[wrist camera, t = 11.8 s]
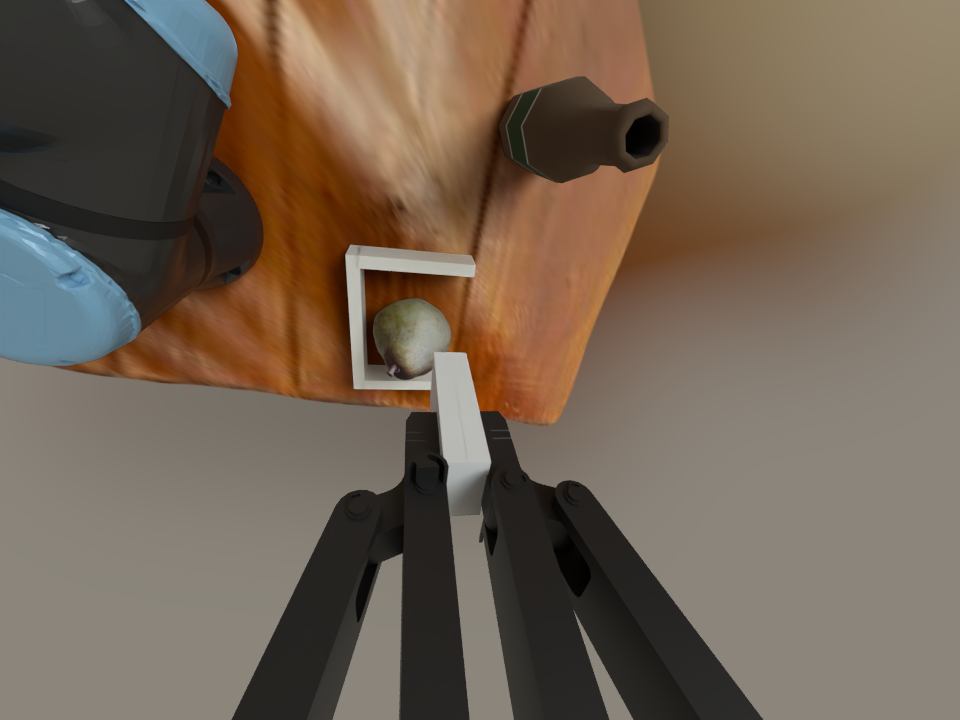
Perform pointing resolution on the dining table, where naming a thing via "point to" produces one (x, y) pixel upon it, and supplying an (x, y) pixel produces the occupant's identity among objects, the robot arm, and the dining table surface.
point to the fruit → (410, 337)
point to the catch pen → (355, 266)
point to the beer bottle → (580, 131)
